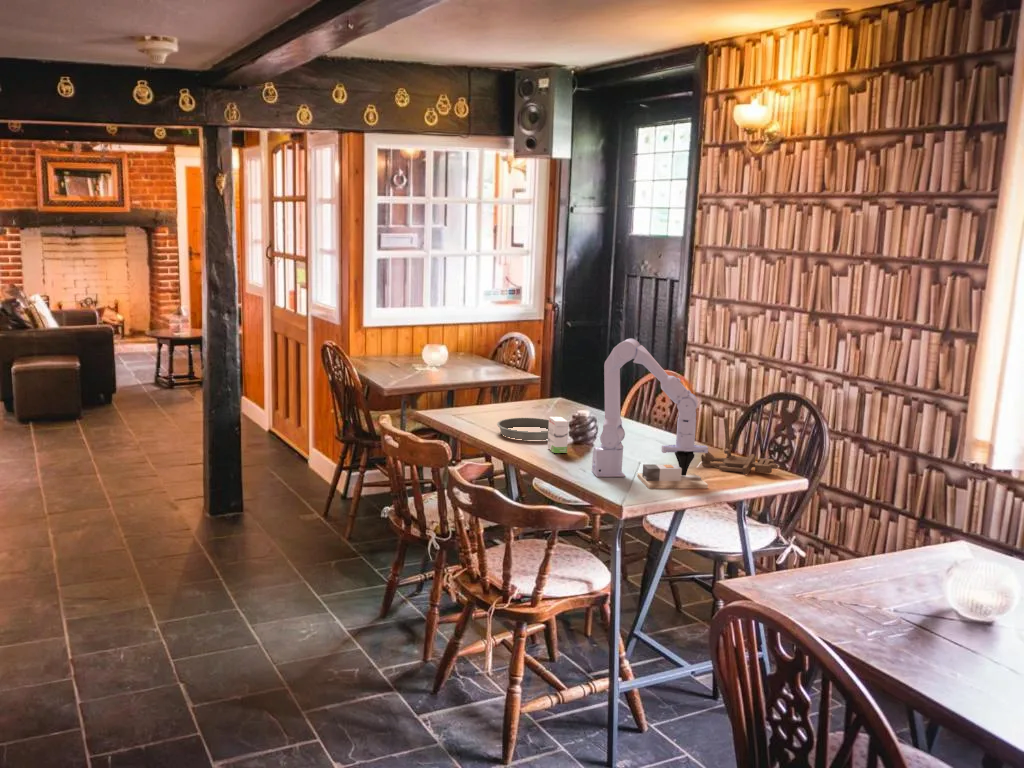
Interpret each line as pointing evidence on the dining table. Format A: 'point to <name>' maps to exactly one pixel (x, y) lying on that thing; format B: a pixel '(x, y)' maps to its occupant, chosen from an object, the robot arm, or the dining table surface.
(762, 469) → the wooden figure
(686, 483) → the rail board
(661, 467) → the block
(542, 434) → the cake pan
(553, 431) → the ink box
